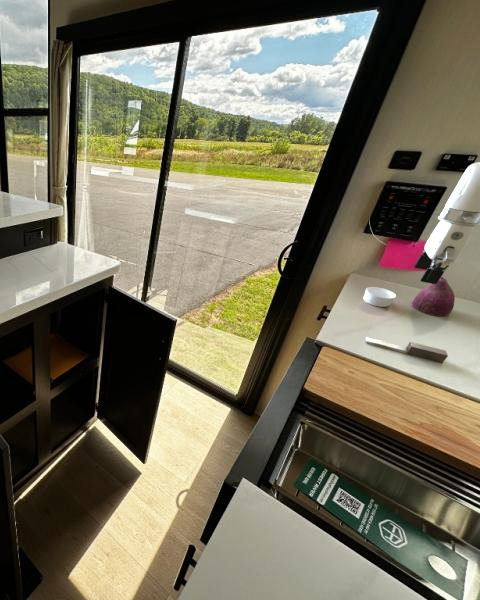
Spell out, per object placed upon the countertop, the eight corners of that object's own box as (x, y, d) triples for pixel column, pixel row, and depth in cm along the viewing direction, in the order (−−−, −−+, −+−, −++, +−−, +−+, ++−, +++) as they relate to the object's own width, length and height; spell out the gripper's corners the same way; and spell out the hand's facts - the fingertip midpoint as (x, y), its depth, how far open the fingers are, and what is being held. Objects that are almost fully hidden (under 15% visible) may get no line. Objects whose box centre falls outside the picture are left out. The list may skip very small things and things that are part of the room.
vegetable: (418, 321, 117) (431, 289, 108) (403, 303, 124) (414, 272, 116) (457, 319, 113) (473, 285, 104) (439, 301, 121) (453, 268, 112)
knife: (440, 358, 96) (445, 350, 94) (442, 363, 94) (448, 355, 92) (365, 338, 105) (369, 331, 103) (365, 343, 103) (369, 335, 101)
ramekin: (368, 306, 120) (373, 297, 118) (356, 295, 127) (361, 285, 125) (396, 309, 118) (401, 299, 116) (382, 297, 126) (387, 287, 123)
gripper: (495, 227, 72) (450, 292, 81) (472, 208, 84) (435, 266, 93) (449, 222, 76) (411, 284, 85) (433, 205, 88) (401, 261, 97)
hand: (424, 275), depth 89 cm, fingers open, 9 cm apart
